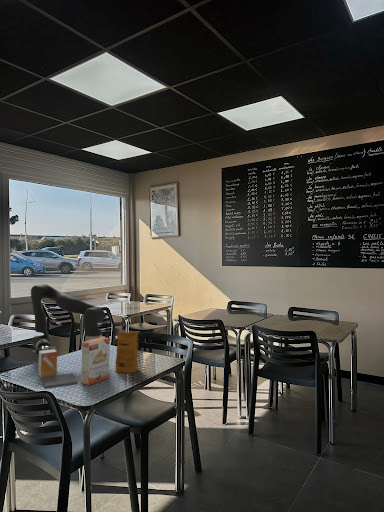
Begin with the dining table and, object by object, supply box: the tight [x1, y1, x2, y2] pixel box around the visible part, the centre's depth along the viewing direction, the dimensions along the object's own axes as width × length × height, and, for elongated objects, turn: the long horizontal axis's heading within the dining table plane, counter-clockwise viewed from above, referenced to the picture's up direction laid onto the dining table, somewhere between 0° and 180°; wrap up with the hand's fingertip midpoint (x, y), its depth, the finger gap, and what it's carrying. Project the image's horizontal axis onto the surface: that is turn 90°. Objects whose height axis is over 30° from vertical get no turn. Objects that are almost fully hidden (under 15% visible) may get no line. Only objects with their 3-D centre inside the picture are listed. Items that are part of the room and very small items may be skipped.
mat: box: [41, 372, 78, 389], centre depth 184 cm, size 15×14×1 cm
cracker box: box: [80, 336, 111, 386], centre depth 185 cm, size 14×6×21 cm, turn 148°
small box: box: [38, 349, 58, 379], centre depth 192 cm, size 8×6×13 cm
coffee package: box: [115, 330, 139, 374], centre depth 201 cm, size 10×12×22 cm
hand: (46, 353), depth 200 cm, fingers closed
